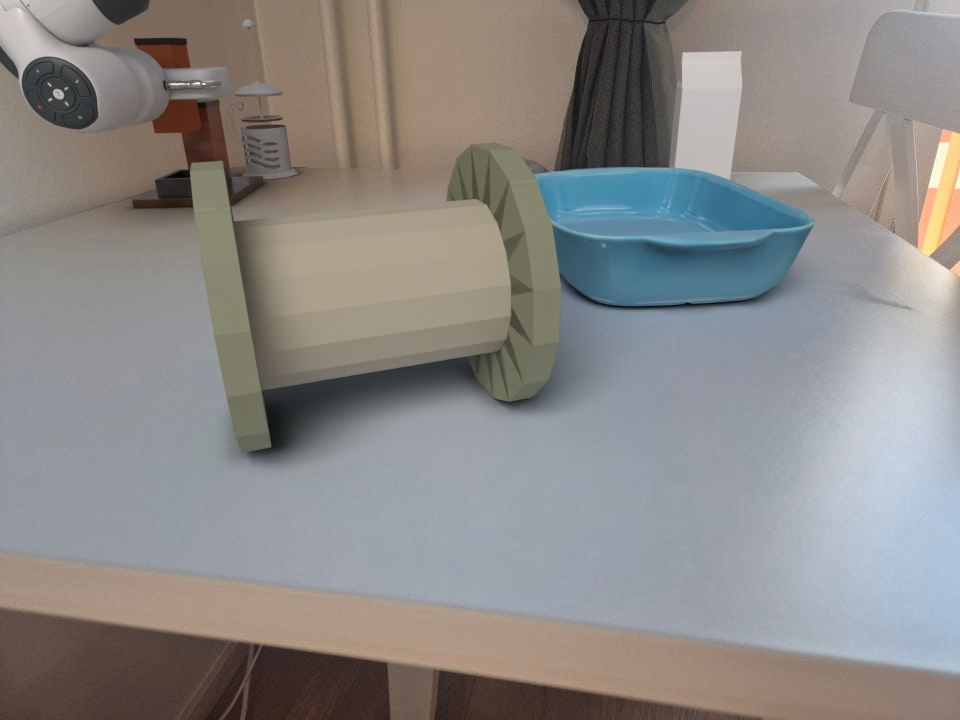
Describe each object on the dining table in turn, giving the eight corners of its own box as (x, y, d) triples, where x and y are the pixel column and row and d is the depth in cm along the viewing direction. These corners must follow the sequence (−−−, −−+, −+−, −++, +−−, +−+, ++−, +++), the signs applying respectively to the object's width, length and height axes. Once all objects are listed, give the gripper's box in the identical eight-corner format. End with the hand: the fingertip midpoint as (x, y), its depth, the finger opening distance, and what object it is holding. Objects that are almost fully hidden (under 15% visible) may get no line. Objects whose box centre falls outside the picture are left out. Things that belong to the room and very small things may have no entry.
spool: (468, 342, 51) (462, 132, 44) (556, 440, 38) (565, 164, 32) (237, 379, 46) (193, 148, 39) (248, 506, 33) (186, 194, 27)
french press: (281, 179, 116) (258, 17, 106) (221, 178, 119) (193, 19, 108) (307, 170, 125) (289, 19, 115) (251, 169, 128) (228, 21, 117)
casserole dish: (507, 223, 84) (507, 164, 81) (682, 216, 86) (688, 158, 83) (565, 338, 51) (568, 245, 48) (849, 323, 53) (869, 232, 50)
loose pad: (153, 133, 94) (133, 38, 89) (170, 128, 100) (152, 39, 95) (187, 132, 94) (169, 37, 89) (202, 128, 100) (186, 38, 95)
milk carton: (726, 210, 89) (747, 51, 81) (670, 209, 90) (685, 52, 82) (717, 199, 95) (736, 51, 87) (665, 199, 96) (679, 52, 88)
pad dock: (133, 208, 97) (110, 109, 92) (180, 185, 114) (162, 99, 108) (231, 205, 97) (214, 106, 92) (263, 183, 114) (251, 97, 108)
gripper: (208, 56, 82) (241, 55, 94) (37, 60, 81) (93, 58, 94) (217, 111, 84) (249, 103, 97) (52, 115, 84) (105, 107, 97)
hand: (171, 81), depth 95 cm, fingers closed on loose pad, 4 cm apart
